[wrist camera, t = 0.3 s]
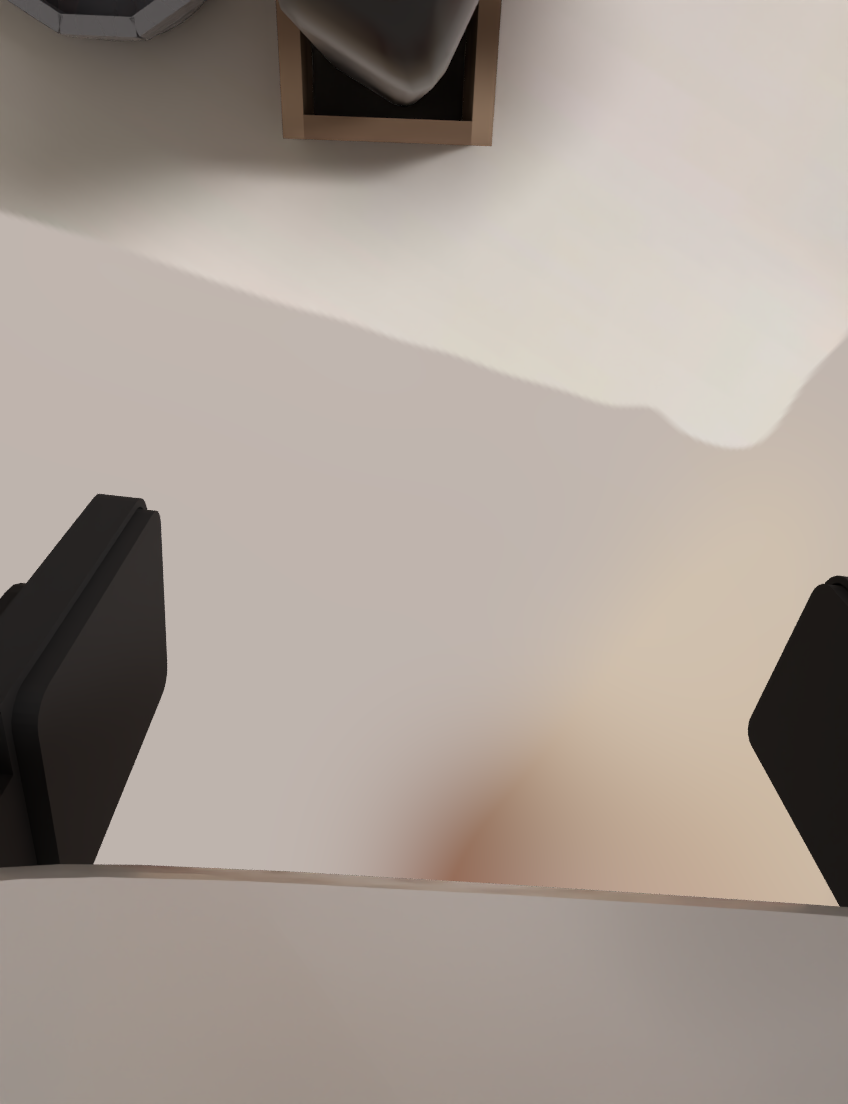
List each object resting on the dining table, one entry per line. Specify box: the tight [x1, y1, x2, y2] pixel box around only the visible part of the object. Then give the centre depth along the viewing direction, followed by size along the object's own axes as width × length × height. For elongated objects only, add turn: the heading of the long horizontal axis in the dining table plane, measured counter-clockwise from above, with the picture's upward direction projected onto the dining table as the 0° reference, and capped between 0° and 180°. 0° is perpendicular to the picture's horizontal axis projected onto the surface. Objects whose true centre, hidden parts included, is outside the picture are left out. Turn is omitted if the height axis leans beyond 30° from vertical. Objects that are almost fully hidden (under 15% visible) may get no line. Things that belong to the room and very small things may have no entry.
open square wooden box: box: [276, 0, 502, 146], centre depth 36 cm, size 10×10×6 cm
